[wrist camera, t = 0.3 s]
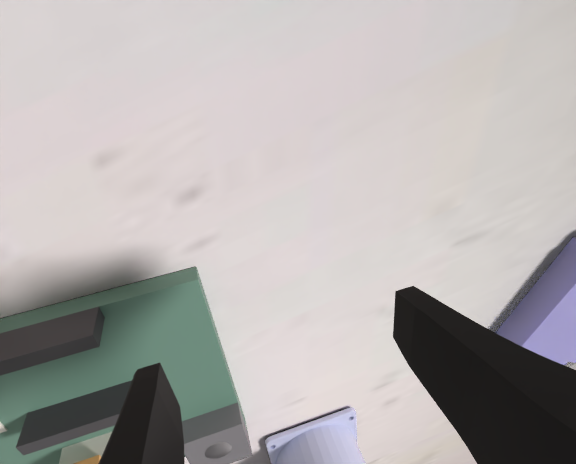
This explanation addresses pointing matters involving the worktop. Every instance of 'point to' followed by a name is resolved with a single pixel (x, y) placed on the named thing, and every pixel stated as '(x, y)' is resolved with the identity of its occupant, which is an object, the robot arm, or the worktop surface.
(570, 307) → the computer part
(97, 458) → the plug
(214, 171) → the worktop surface
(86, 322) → the board
